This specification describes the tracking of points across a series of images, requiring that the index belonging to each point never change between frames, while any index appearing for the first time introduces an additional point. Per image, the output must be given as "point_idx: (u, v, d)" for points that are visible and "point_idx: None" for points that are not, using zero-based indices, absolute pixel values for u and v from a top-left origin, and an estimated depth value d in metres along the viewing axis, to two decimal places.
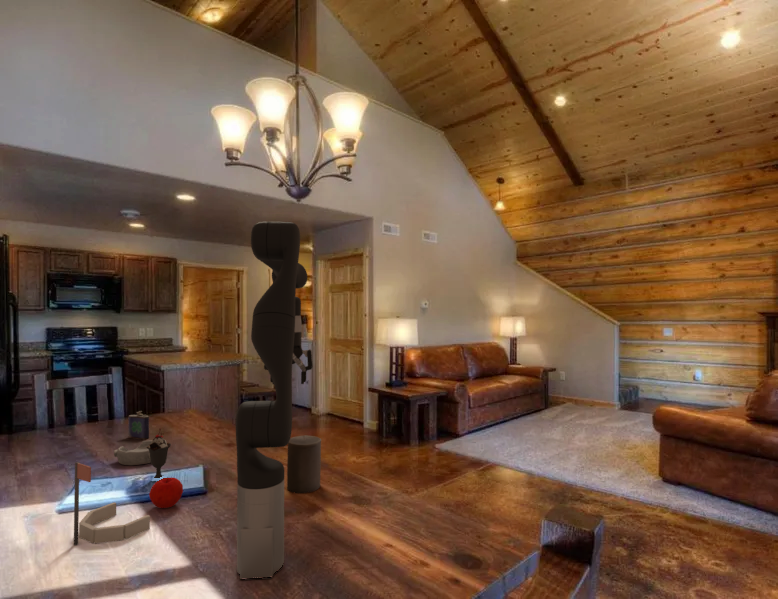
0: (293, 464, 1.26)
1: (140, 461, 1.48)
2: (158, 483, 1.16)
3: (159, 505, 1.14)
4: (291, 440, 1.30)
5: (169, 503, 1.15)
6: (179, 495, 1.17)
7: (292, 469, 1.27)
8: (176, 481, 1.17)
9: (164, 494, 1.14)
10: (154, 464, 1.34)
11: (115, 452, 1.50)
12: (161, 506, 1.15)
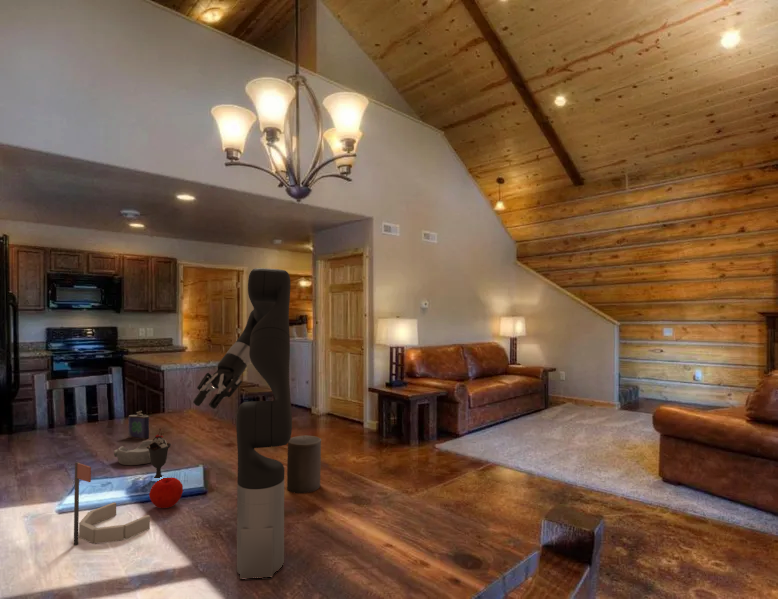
0: (293, 464, 1.26)
1: (140, 461, 1.48)
2: (158, 483, 1.16)
3: (159, 505, 1.14)
4: (291, 440, 1.30)
5: (169, 503, 1.15)
6: (179, 495, 1.17)
7: (292, 469, 1.27)
8: (176, 481, 1.17)
9: (164, 494, 1.14)
10: (154, 464, 1.34)
11: (115, 452, 1.50)
12: (161, 506, 1.15)
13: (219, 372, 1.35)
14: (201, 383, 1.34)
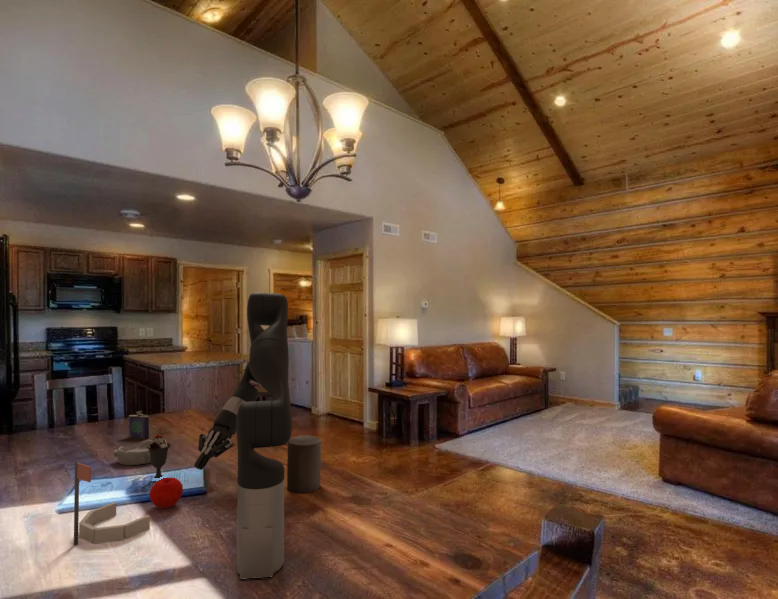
0: (293, 464, 1.26)
1: (140, 461, 1.48)
2: (158, 483, 1.16)
3: (159, 505, 1.14)
4: (291, 440, 1.30)
5: (169, 503, 1.15)
6: (179, 495, 1.17)
7: (292, 469, 1.27)
8: (176, 481, 1.17)
9: (164, 494, 1.14)
10: (154, 464, 1.34)
11: (115, 452, 1.50)
12: (161, 506, 1.15)
13: (215, 429, 1.33)
14: (200, 444, 1.31)
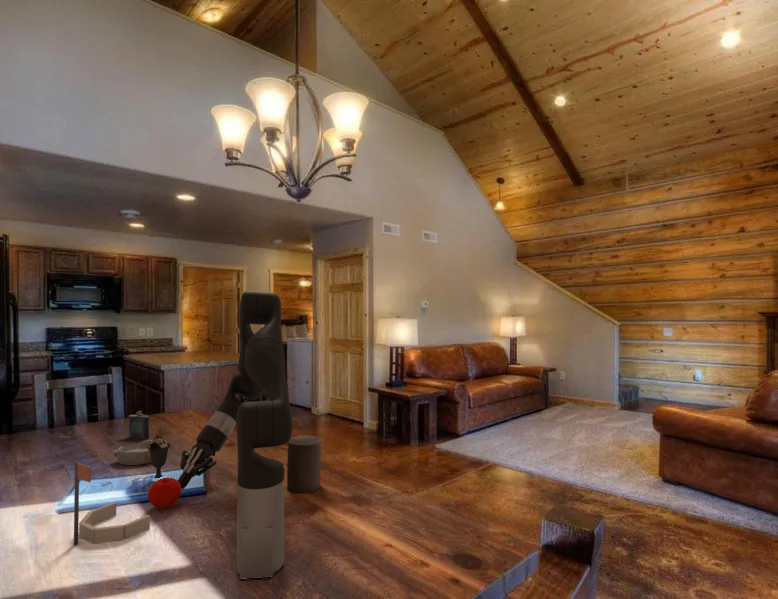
0: (293, 464, 1.26)
1: (140, 461, 1.48)
2: (156, 483, 1.15)
3: (157, 506, 1.14)
4: (291, 440, 1.30)
5: (167, 504, 1.15)
6: (177, 495, 1.16)
7: (292, 469, 1.27)
8: (174, 481, 1.17)
9: (162, 494, 1.13)
10: (154, 464, 1.34)
11: (115, 452, 1.50)
12: (159, 507, 1.15)
13: (198, 446, 1.28)
14: (182, 462, 1.25)
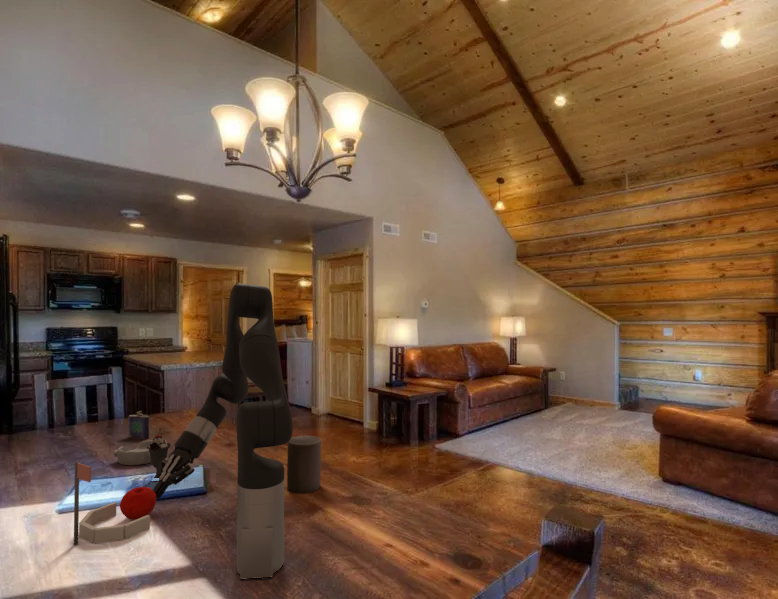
0: (293, 464, 1.26)
1: (140, 461, 1.48)
2: (129, 493, 1.09)
3: (130, 517, 1.08)
4: (291, 440, 1.30)
5: (140, 515, 1.09)
6: (152, 506, 1.10)
7: (292, 469, 1.27)
8: (149, 491, 1.11)
9: (135, 505, 1.07)
10: (154, 464, 1.34)
11: (115, 452, 1.50)
12: (132, 518, 1.09)
13: (176, 452, 1.22)
14: (159, 470, 1.19)
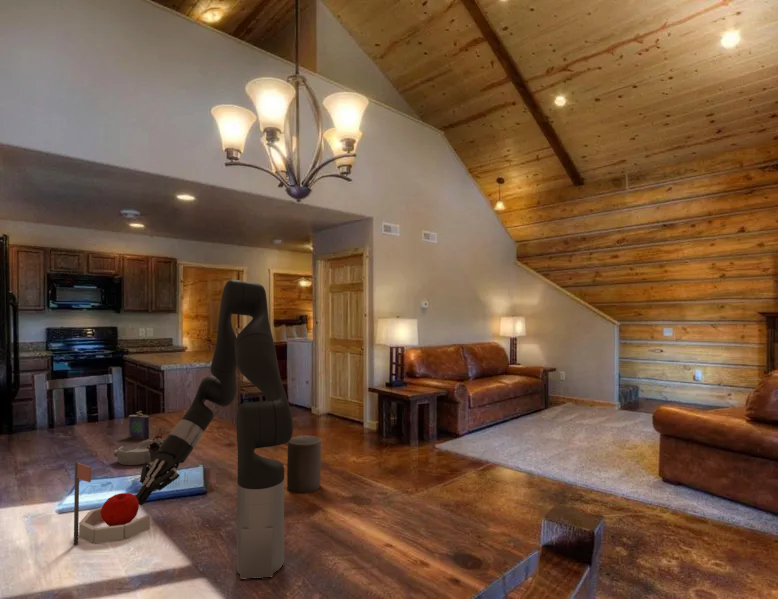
0: (293, 464, 1.26)
1: (140, 461, 1.48)
2: (110, 500, 1.05)
3: (111, 524, 1.04)
4: (291, 440, 1.30)
5: (122, 522, 1.05)
6: (134, 513, 1.06)
7: (292, 469, 1.27)
8: (131, 497, 1.07)
9: (116, 512, 1.04)
10: None
11: (115, 452, 1.50)
12: (113, 525, 1.05)
13: (160, 457, 1.18)
14: (143, 475, 1.15)
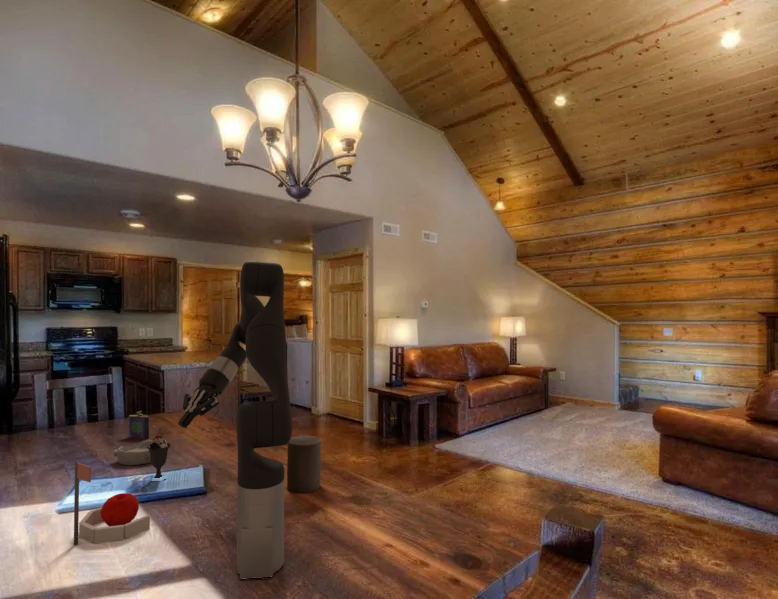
0: (293, 464, 1.26)
1: (140, 461, 1.48)
2: (110, 500, 1.05)
3: (111, 524, 1.04)
4: (291, 440, 1.30)
5: (122, 522, 1.05)
6: (134, 513, 1.06)
7: (292, 469, 1.27)
8: (131, 497, 1.07)
9: (115, 512, 1.04)
10: (154, 464, 1.34)
11: (115, 452, 1.50)
12: None
13: (200, 388, 1.29)
14: (185, 403, 1.26)
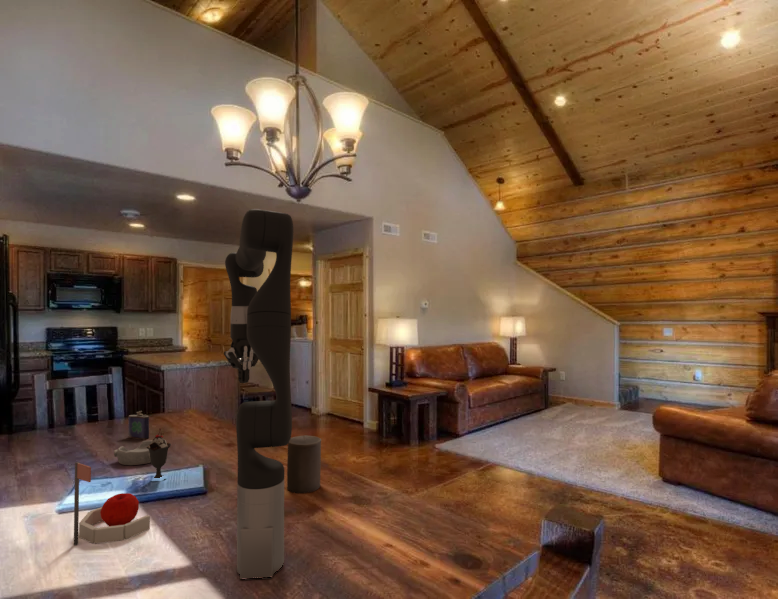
0: (293, 464, 1.26)
1: (140, 461, 1.48)
2: (110, 500, 1.05)
3: (111, 524, 1.04)
4: (291, 440, 1.30)
5: (122, 522, 1.05)
6: (134, 513, 1.06)
7: (292, 469, 1.27)
8: (131, 497, 1.07)
9: (115, 512, 1.04)
10: (154, 464, 1.34)
11: (115, 452, 1.50)
12: None
13: (241, 343, 1.26)
14: (237, 362, 1.24)
